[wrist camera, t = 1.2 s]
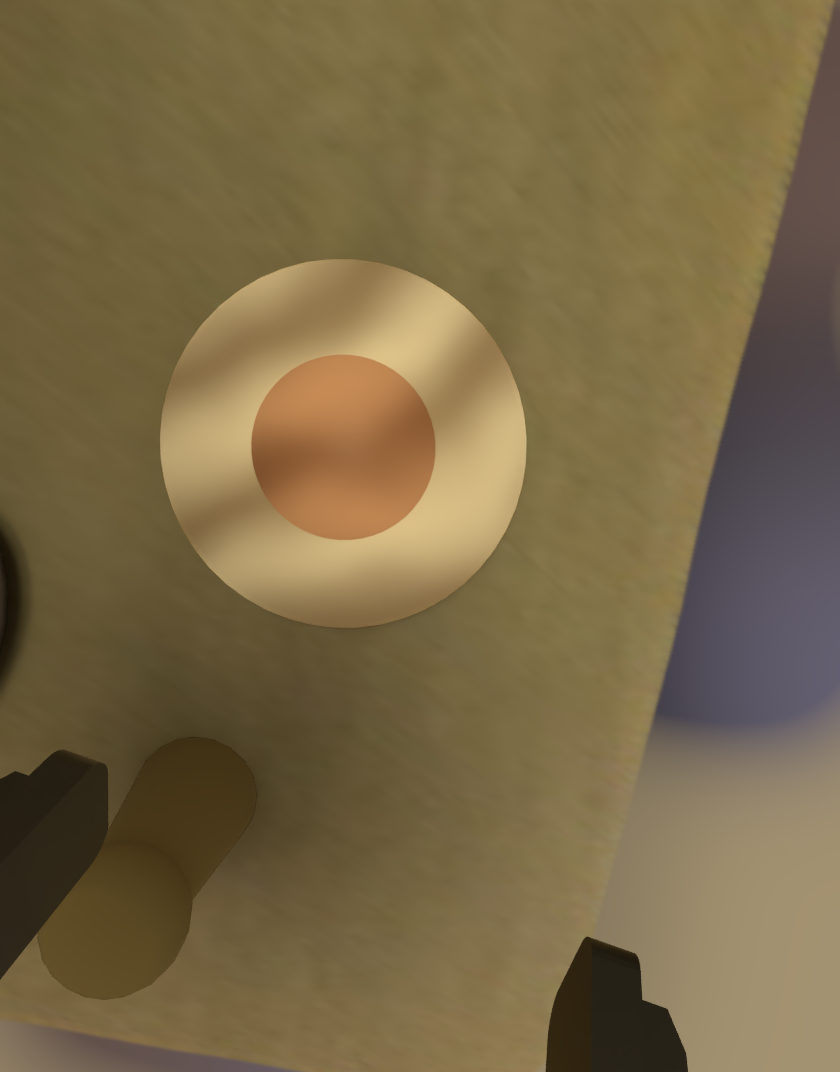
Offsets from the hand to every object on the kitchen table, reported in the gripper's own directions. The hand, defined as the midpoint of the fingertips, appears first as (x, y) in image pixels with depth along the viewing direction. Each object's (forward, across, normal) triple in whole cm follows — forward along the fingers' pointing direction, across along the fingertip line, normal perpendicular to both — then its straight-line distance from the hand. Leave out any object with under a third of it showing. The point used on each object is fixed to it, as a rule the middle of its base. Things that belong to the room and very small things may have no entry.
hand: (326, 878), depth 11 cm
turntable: (+22, +7, +2) cm, 24 cm away
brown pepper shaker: (+16, +10, +19) cm, 27 cm away
